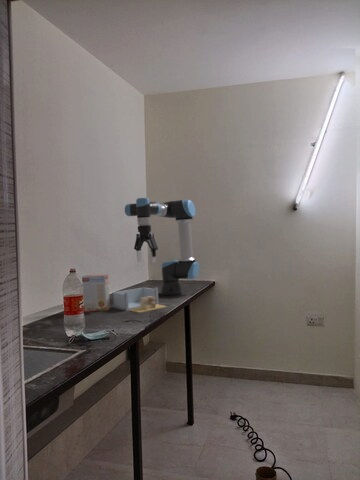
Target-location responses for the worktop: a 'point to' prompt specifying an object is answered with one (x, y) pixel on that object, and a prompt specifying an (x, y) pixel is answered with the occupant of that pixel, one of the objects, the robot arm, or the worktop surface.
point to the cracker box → (96, 293)
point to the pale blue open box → (132, 298)
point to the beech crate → (147, 302)
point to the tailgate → (147, 309)
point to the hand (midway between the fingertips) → (146, 262)
